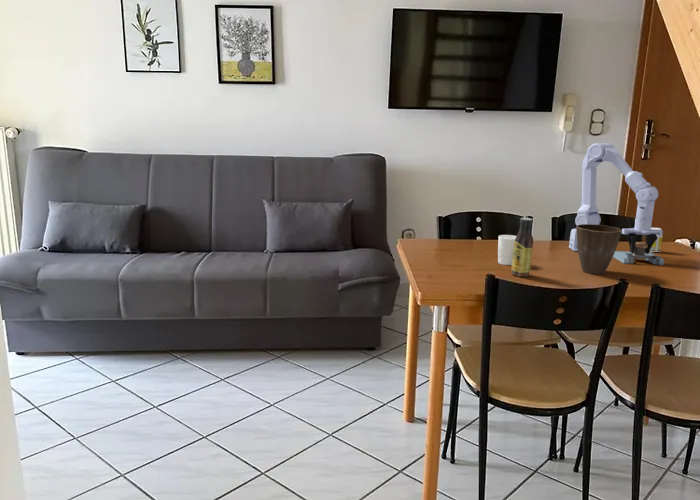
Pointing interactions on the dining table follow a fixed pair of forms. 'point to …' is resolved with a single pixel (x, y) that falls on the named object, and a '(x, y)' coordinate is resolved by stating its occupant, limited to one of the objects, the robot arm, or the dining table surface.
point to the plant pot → (596, 246)
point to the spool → (640, 250)
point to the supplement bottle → (656, 243)
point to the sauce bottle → (523, 249)
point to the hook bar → (643, 257)
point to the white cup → (505, 249)
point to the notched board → (623, 258)
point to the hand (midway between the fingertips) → (639, 252)
